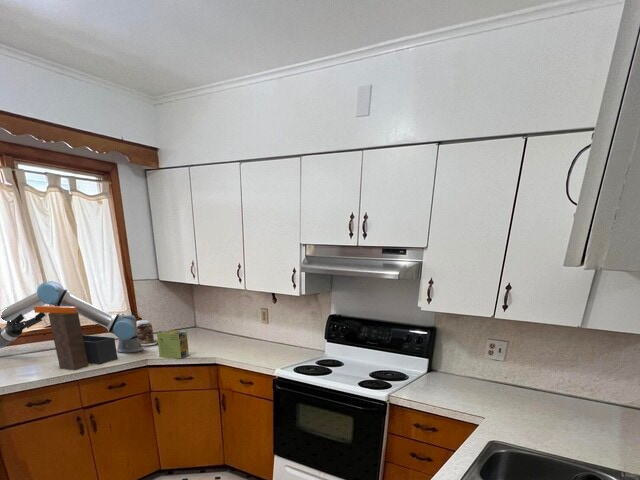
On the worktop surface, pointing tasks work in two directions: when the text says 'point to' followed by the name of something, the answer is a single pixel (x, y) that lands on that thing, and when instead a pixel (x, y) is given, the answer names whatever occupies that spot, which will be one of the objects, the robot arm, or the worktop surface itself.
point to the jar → (145, 331)
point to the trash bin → (99, 349)
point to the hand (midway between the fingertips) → (33, 314)
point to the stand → (68, 340)
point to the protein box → (172, 344)
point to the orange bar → (55, 309)
